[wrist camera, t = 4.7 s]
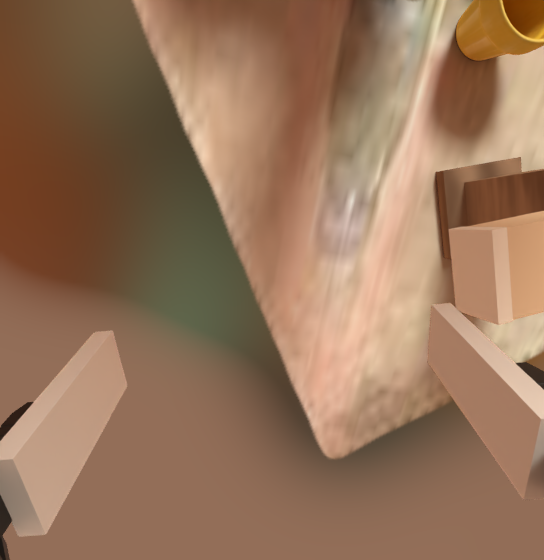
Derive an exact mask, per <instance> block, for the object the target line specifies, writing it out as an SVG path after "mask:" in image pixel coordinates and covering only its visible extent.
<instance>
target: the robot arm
mask: <svg viewBox="0 0 544 560" xmlns="http://www.w3.org/2000/svg"><path fill="white" fill-rule="evenodd" d="M427 362H428V364H429V365H430V367H431V368H432V370H433V371H434V373H435V374H436V375H437V377H438V378H439V380H440V381H441V383H442V384H443V385H444V387H445V388H446V390H447V391H448V393H449V394H450V395H451V397H452V398H453V400H454V401H455V403H456V404H457V405H458V407H459V408H460V410H461V411H462V413H463V414H464V416H465V417H466V418H467V420H468V421H469V423H470V424H471V426H472V427H473V428H474V430H475V431H476V433H477V434H478V436H479V437H480V438H481V440H482V441H483V443H484V444H485V445H486V447H487V448H488V450H489V451H490V453H491V454H492V455H493V457H494V459H495V460H496V461H497V463H498V464H499V466H500V467H501V469H502V470H503V471H504V473H505V474H506V476H507V477H508V478H509V480H510V481H511V483H512V484H513V486H514V487H515V489H516V490H517V491H518V493H519V494H520V496H521V497H522V499H523V500H533V499H544V371H542V370H540V369H538V368H536V367H534V366H532V365H530V364H528V363H526V362H523V363H514V362H513V361H512V360H511V359H510V358H509V357H508V356H507V355H506V354H505V353H504V352H503V351H502V350H500V349H499V348H498V347H497V346H496V345H495V344H494V343H493V342H492V341H491V340H490V339H489V338H488V337H487V336H485V335H484V334H483V333H482V332H481V331H480V330H479V329H478V328H477V327H476V326H475V325H474V324H473V323H471V322H470V321H469V320H468V319H467V318H466V317H465V316H464V315H463V314H462V313H461V312H460V311H459V310H457V309H456V308H455V307H454V306H453V305H452V304H451V303H444V304H432V305H431V318H430V332H429V345H428V359H427ZM126 388H127V382H126V379H125V375H124V371H123V367H122V364H121V360H120V356H119V353H118V349H117V345H116V341H115V338H114V334H113V331H102V332H94V333H93V334H92V336H91V337H90V338H89V339H88V340H87V341H86V342H85V344H84V345H83V346H82V347H81V348H80V349H79V350H78V352H77V353H76V354H75V355H74V356H73V357H72V359H71V360H70V361H69V362H68V363H67V364H66V366H65V367H64V368H63V369H62V370H61V371H60V373H59V374H58V375H57V376H56V377H55V378H54V379H53V381H52V382H51V383H50V384H49V385H48V387H47V388H46V389H45V390H44V391H43V392H42V394H41V395H40V396H39V397H38V398H37V399H36V400H35V402H28V403H26V404H25V405H23V406H22V407H20V408H19V409H18V410H16V411H15V412H14V413H12V414H11V415H10V416H9V417H8V418H7V420H6V421H5V422H4V423H3V424H2V425H1V428H0V560H10V559H9V554H8V549H7V544H6V542H5V540H4V538H3V536H2V535H3V533H4V532H5V531H6V529H7V528H8V526H9V524H10V523H11V522H12V524H13V526H14V528H15V530H16V532H17V534H18V536H32V535H45V534H46V533H47V531H48V530H49V528H50V526H51V524H52V522H53V520H54V519H55V517H56V515H57V513H58V511H59V509H60V508H61V506H62V504H63V502H64V500H65V499H66V497H67V495H68V493H69V491H70V489H71V487H72V485H73V484H74V482H75V480H76V478H77V477H78V475H79V473H80V471H81V469H82V468H83V466H84V464H85V462H86V460H87V458H88V457H89V454H90V453H91V451H92V449H93V448H94V446H95V444H96V442H97V440H98V439H99V437H100V435H101V433H102V431H103V429H104V427H105V426H106V424H107V422H108V420H109V418H110V416H111V415H112V413H113V411H114V409H115V407H116V406H117V404H118V402H119V400H120V398H121V397H122V395H123V393H124V391H125V389H126Z"/></svg>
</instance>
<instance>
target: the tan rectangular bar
mask: <svg viewBox="0 0 544 560" xmlns="http://www.w3.org/2000/svg"><path fill="white" fill-rule="evenodd" d="M449 240H450V251H451V262H452V272H453V283H454V294H455V305H456V309H457V310H459V311H460V312H462V313H465V314H468V315H471V316H474V317H477V318H480V319H483V320H486V321H489V322H492V323H495V324H498V325H500V324H504V323H508V322H512V321H513V320H514V319H518V318H522V317H526V316H530V315H533V314H537V313H541V312H544V211H540V212H535V213H530V214H525V215H521V216H516V217H511V218H506V219H501V220H496V221H491V222H487V223H482V224H477V225H472V226H467V227H457V228H452V229H449Z"/></svg>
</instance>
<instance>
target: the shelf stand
mask: <svg viewBox="0 0 544 560" xmlns="http://www.w3.org/2000/svg"><path fill="white" fill-rule="evenodd" d="M436 178H437V189H438V199H439V210H440V220H441V230H442V241H443V251H444V258H448V259H451V251H450V240H449V229H452V228H457V227H467V226H472V225H477V224H482V223H487V222H491V221H496V220H501V219H506V218H511V217H516V216H521V215H525V214H530V213H535V212H540V211H544V169H540V170H533V171H527V172H522V171H521V157H518V158H513V159H507V160H501V161H496V162H490V163H485V164H479V165H473V166H468V167H462V168H456V169H451V170H445V171H440V172H436Z"/></svg>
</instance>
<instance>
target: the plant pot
mask: <svg viewBox="0 0 544 560" xmlns="http://www.w3.org/2000/svg"><path fill="white" fill-rule="evenodd" d="M456 39H457V43H458V46H459V48H460V50H461V51H462V53H463V54H464V55H465V56H466V57H468V58H470V59H472V60H476V61H481V60H486V59H490V58H493V57H497V56H501V55H505V54H512V55H520V54H525V53H528V52H530V51H533V50H535V49H537V48H539V47H541V46H543V45H544V0H474V1H473V2H472V3H471V5H470V6H469V7H468V8H467V10H466V11H465V12H464V13H463V15H462V16H461V18H460V19H459V21H458V24H457V28H456Z"/></svg>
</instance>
